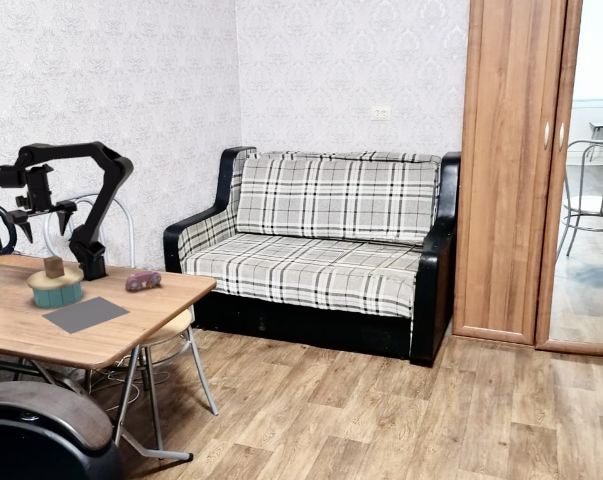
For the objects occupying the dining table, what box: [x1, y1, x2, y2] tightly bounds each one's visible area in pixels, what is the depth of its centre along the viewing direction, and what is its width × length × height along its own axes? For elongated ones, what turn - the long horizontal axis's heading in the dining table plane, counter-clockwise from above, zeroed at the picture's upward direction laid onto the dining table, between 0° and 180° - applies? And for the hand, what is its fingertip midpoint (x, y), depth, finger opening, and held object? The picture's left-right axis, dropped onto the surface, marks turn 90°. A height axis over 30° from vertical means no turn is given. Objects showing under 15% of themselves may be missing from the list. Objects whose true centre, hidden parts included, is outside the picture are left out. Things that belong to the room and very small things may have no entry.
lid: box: [26, 254, 84, 290], centre depth 155 cm, size 14×14×6 cm
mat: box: [41, 296, 131, 335], centre depth 148 cm, size 16×16×1 cm
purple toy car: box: [124, 269, 162, 291], centre depth 163 cm, size 10×5×7 cm, turn 118°
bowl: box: [32, 280, 83, 309], centre depth 157 cm, size 12×12×6 cm
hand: (47, 239), depth 172 cm, fingers open, 9 cm apart
